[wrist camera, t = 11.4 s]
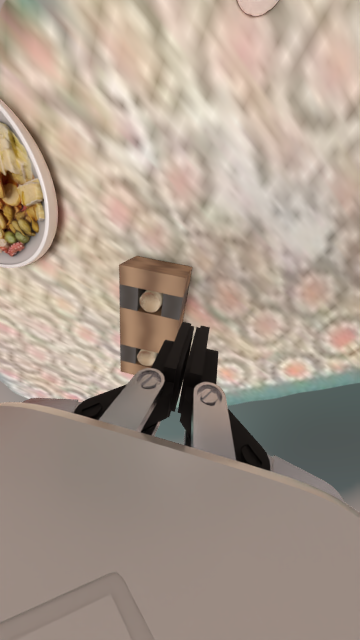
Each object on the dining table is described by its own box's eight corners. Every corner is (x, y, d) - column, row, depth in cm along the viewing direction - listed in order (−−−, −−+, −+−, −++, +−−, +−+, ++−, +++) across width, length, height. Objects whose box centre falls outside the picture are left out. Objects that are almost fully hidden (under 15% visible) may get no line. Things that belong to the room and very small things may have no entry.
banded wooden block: (192, 266, 40) (186, 278, 33) (175, 361, 53) (168, 383, 46) (136, 255, 41) (119, 264, 34) (133, 351, 54) (120, 371, 47)
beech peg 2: (164, 334, 49) (154, 354, 42) (162, 347, 51) (153, 367, 44) (148, 331, 49) (137, 350, 42) (147, 343, 51) (136, 363, 44)
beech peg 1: (170, 282, 42) (161, 295, 35) (168, 298, 44) (159, 314, 37) (152, 278, 42) (139, 290, 35) (151, 295, 44) (139, 310, 37)
